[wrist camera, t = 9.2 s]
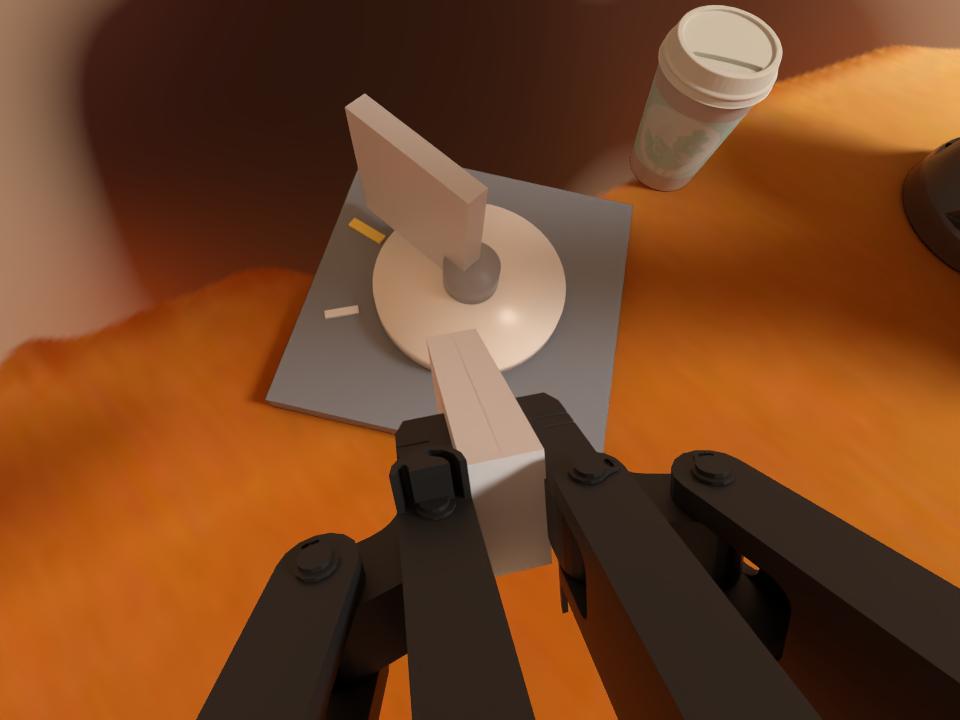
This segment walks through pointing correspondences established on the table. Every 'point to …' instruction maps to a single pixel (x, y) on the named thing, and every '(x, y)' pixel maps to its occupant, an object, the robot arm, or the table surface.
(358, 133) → the dial
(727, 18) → the coffee cup
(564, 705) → the table surface
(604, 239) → the dial plate
